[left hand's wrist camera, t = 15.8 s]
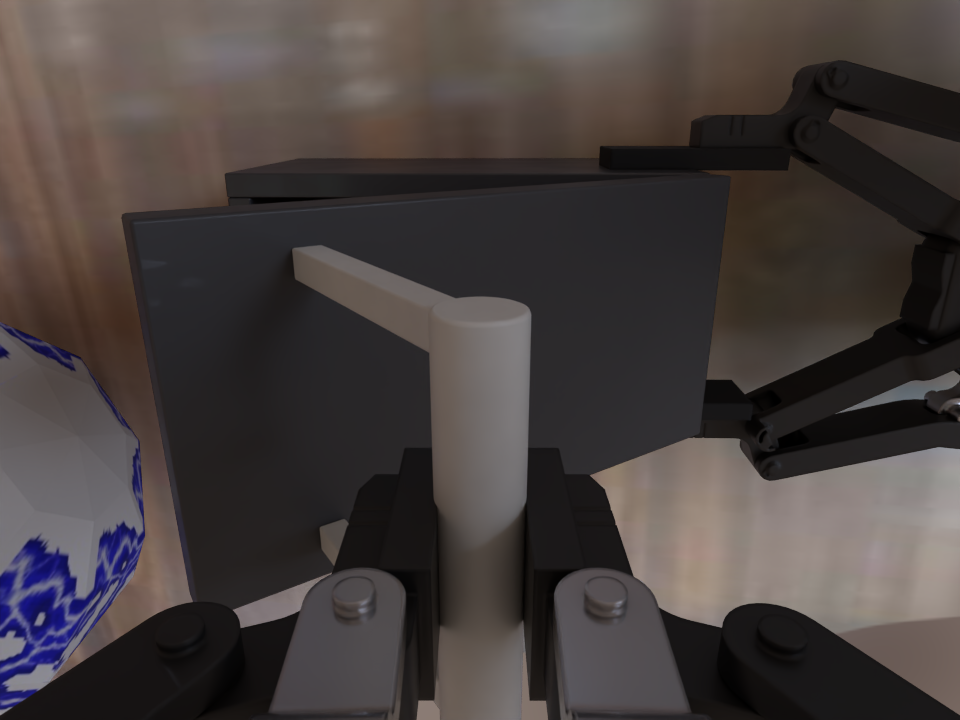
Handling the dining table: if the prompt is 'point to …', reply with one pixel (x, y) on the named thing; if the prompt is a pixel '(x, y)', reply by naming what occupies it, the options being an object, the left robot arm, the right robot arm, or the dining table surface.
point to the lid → (419, 376)
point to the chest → (411, 177)
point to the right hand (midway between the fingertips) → (597, 285)
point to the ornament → (59, 509)
